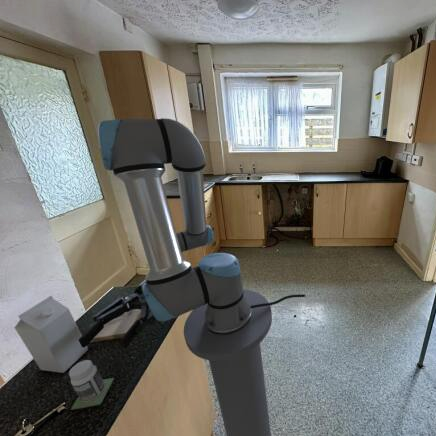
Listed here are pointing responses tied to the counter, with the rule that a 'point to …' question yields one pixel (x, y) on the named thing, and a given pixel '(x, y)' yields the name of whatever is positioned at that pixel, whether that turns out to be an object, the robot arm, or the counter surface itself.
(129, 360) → the counter surface
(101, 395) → the pad
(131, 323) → the board
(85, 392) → the pill bottle
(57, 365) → the milk carton
